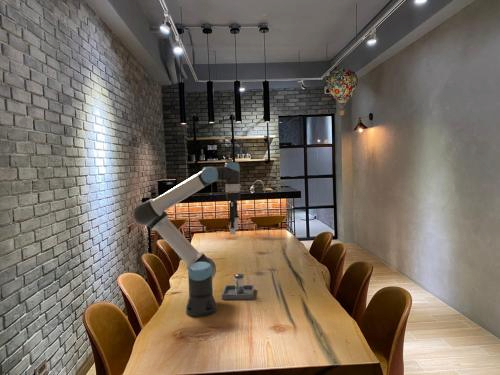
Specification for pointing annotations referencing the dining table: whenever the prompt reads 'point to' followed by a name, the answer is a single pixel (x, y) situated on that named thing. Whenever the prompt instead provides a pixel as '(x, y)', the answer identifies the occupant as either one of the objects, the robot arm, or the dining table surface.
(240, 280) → the shaker
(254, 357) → the dining table surface
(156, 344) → the dining table surface
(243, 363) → the dining table surface
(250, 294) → the tray
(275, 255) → the dining table surface
